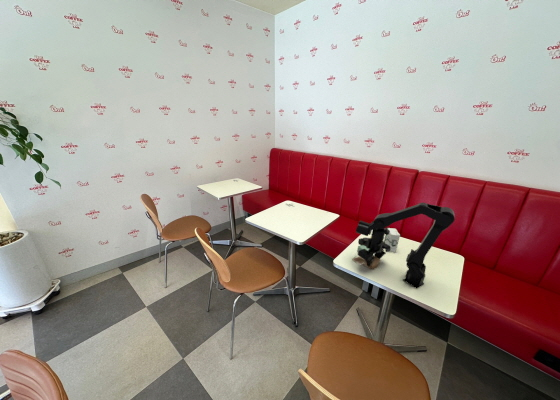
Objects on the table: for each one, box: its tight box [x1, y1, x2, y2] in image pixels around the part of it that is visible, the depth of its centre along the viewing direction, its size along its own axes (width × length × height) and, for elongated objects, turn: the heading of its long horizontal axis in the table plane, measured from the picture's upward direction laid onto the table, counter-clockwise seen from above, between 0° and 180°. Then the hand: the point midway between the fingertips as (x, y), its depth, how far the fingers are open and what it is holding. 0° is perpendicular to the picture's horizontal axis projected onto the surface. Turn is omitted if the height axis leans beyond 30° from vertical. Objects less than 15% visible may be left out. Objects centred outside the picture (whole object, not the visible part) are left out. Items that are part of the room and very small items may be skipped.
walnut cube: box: [363, 255, 381, 271], centre depth 113 cm, size 5×5×5 cm
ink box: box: [383, 227, 401, 253], centre depth 128 cm, size 9×5×12 cm, turn 172°
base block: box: [356, 245, 369, 253], centre depth 124 cm, size 6×6×4 cm
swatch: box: [351, 255, 365, 266], centre depth 118 cm, size 6×6×1 cm
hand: (371, 264), depth 114 cm, fingers closed on walnut cube, 5 cm apart
